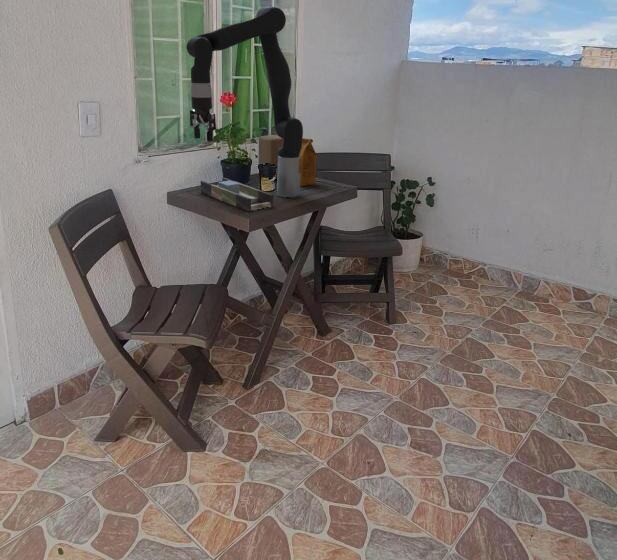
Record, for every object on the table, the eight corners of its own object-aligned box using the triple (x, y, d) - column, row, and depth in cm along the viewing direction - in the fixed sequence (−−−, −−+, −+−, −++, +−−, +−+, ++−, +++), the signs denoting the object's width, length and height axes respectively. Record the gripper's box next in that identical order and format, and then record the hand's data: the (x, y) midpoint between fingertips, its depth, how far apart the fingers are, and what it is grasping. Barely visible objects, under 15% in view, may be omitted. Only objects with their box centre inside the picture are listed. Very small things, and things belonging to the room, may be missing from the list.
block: (257, 177, 275) (257, 136, 267) (272, 174, 281) (273, 134, 273) (270, 181, 268) (271, 139, 260) (286, 178, 275) (287, 137, 267)
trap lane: (224, 188, 251) (224, 177, 249) (273, 206, 227) (273, 194, 225) (200, 192, 243) (200, 181, 241) (248, 211, 219) (248, 199, 217)
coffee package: (304, 180, 274) (306, 134, 265) (317, 186, 264) (320, 138, 255) (286, 181, 269) (288, 135, 260) (299, 187, 259) (301, 139, 250)
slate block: (230, 189, 242) (229, 180, 240) (239, 192, 237) (239, 183, 236) (218, 191, 238) (218, 182, 236) (227, 194, 233) (227, 185, 232)
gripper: (220, 97, 205) (222, 141, 211) (199, 93, 214) (201, 136, 221) (203, 97, 200) (205, 143, 207) (182, 94, 209) (185, 138, 216)
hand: (203, 139), depth 214 cm, fingers open, 8 cm apart
